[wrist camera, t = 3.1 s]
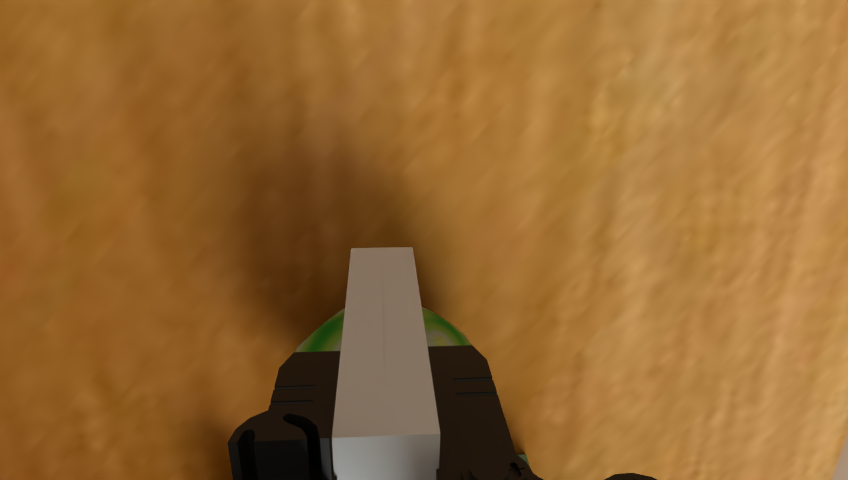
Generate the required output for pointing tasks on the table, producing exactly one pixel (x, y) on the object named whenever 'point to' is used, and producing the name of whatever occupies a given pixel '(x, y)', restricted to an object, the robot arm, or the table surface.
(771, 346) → the table surface
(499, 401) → the robot arm
